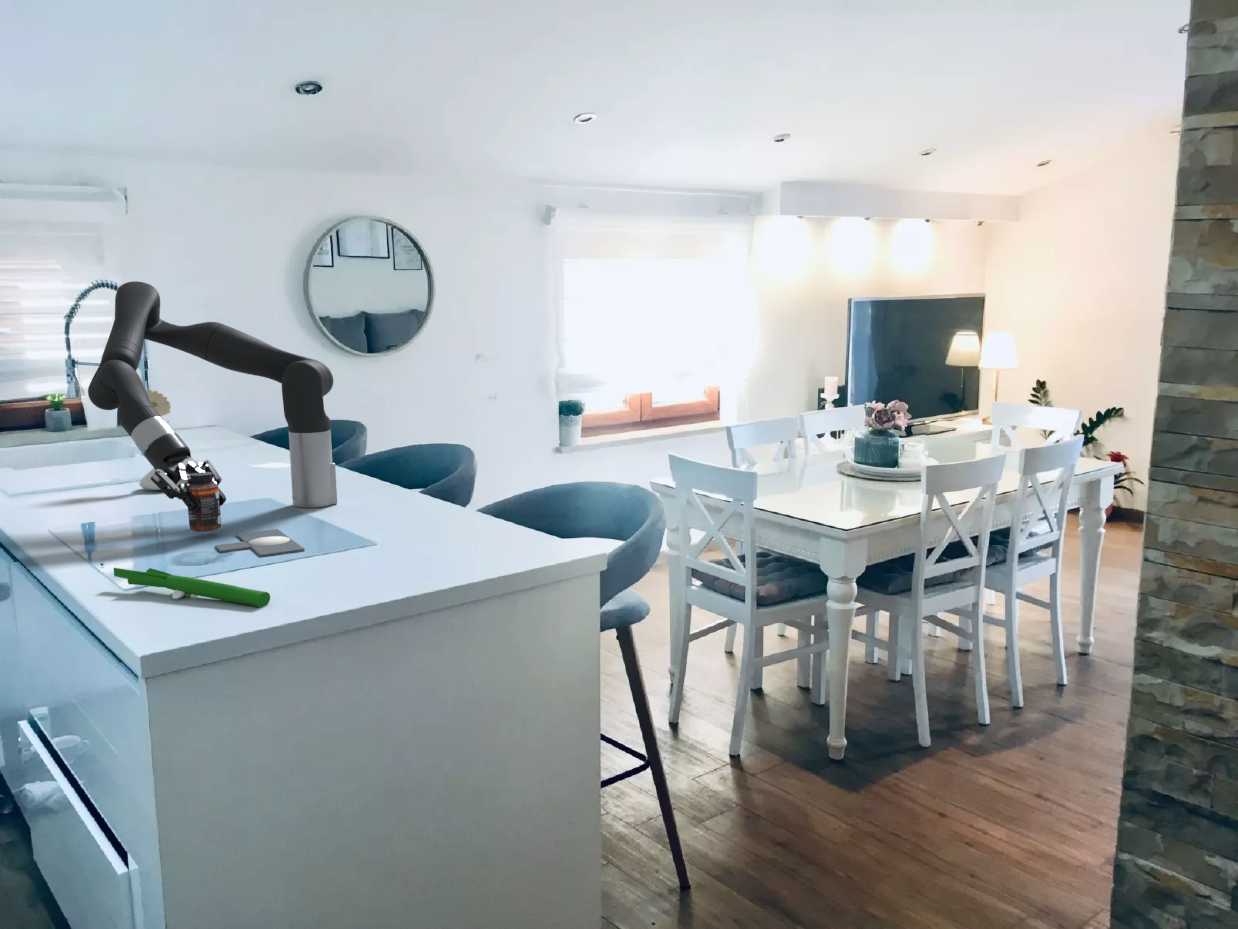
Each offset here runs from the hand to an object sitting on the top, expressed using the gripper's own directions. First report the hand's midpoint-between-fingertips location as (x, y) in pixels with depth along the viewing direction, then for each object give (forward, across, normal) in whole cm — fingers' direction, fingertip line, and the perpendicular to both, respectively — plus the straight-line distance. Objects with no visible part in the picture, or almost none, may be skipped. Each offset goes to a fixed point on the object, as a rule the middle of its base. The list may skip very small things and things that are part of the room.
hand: (210, 506), depth 196 cm
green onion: (+24, +33, +14) cm, 43 cm away
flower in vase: (-32, -36, -41) cm, 64 cm away
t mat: (+13, +2, +4) cm, 14 cm away
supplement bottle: (+2, 0, -5) cm, 5 cm away
